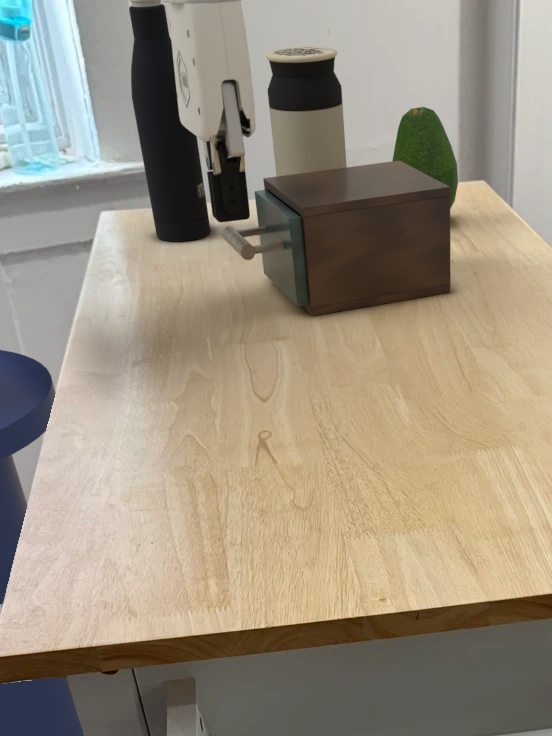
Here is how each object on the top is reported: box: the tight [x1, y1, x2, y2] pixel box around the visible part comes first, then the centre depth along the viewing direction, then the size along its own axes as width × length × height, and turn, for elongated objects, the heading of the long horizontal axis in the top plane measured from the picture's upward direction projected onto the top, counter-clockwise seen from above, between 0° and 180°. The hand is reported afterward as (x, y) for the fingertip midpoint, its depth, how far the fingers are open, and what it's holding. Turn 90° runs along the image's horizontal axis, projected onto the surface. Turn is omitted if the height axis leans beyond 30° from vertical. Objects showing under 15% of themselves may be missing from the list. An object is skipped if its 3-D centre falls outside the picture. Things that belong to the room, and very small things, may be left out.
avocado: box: [392, 106, 459, 210], centre depth 117 cm, size 8×8×12 cm
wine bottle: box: [128, 0, 212, 243], centre depth 111 cm, size 6×6×30 cm
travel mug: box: [265, 46, 348, 177], centre depth 113 cm, size 8×8×18 cm
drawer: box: [221, 189, 309, 307], centre depth 100 cm, size 18×11×8 cm, turn 112°
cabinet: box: [262, 160, 451, 317], centre depth 101 cm, size 15×13×10 cm
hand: (231, 218), depth 95 cm, fingers closed
